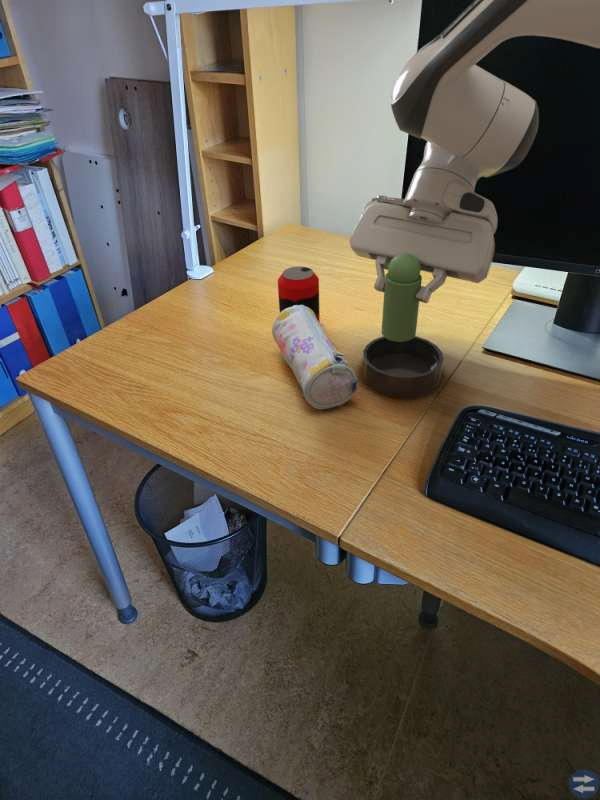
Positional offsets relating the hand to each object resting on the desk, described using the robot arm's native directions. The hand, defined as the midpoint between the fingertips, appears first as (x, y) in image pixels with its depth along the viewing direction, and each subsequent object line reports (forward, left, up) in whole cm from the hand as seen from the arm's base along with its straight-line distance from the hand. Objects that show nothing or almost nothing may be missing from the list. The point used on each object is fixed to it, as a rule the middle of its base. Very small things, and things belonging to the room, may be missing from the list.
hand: (400, 295), depth 78 cm
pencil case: (+14, -2, -19) cm, 24 cm away
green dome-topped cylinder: (0, -1, -6) cm, 6 cm away
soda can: (+22, -16, -19) cm, 33 cm away
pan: (0, -8, -19) cm, 20 cm away
